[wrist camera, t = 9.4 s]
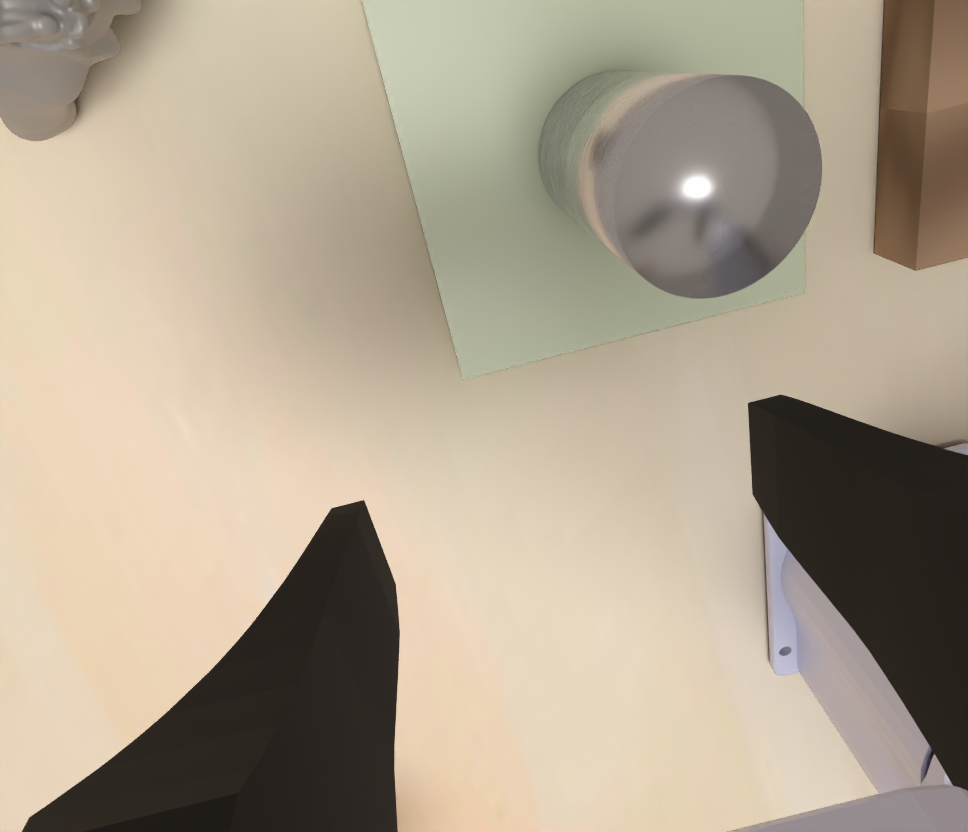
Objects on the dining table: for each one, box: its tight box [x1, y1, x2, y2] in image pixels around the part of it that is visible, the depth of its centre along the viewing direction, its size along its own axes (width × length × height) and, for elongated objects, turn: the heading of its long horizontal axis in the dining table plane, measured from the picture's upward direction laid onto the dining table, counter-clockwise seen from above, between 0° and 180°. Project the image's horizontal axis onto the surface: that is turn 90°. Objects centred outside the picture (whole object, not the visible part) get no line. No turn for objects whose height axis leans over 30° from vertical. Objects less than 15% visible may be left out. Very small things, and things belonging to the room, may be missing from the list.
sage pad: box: [362, 0, 805, 380], centre depth 20 cm, size 11×11×1 cm
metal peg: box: [538, 70, 822, 299], centre depth 16 cm, size 4×4×7 cm
